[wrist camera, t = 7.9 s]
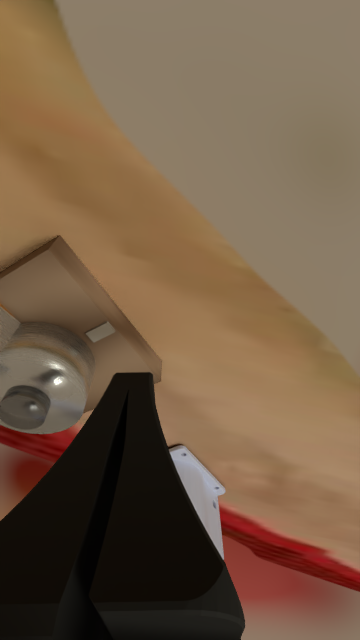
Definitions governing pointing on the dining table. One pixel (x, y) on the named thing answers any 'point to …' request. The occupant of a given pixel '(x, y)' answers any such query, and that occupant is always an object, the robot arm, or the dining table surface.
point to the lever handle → (42, 376)
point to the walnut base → (76, 312)
